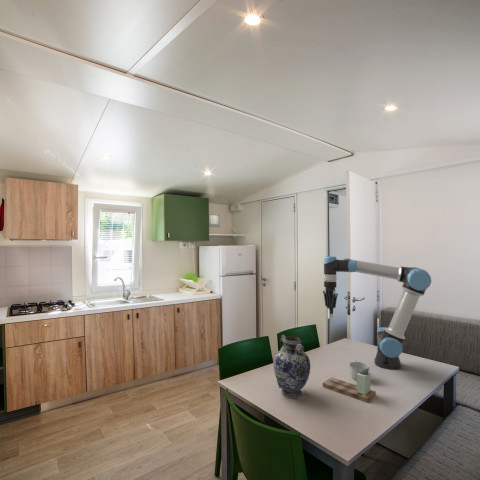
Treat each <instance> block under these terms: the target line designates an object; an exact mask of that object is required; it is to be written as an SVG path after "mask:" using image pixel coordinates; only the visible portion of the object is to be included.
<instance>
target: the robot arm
mask: <svg viewBox="0 0 480 480" xmlns="http://www.w3.org/2000/svg"><path fill="white" fill-rule="evenodd" d="M338 272H339V273H341V272H342V273H360V274H366V275H370V276H376V277H381V278H386V279H392V280H396V281H397V282H399V283H402V289H403V292H402V294H401V295H400V298H399V302H398V304H397V307H396V309H395V310H394V313H393V316H392V318H391V321H390V323H389V324H388V325H389V326H388V327H384V326H383V327H378V328H377V331H376V333H377V336H376V337H377V338H376V340H377V341H376V344H377V346H376V347H377V349H376V350H377V352H376V355H375V358H374V365H375V366H377V367H379V368H383V369H387V370H398V369H399V370H400V369H401V367H402V362H401V359H400V355H401V354H402V353H403V345H404V343H405V340H406V337H405V332H406V330H407V328H408V325H409V323H410V321H411V318H412V315H413V313H414V311H415V309H416V306H417V304H418V302H419V299H420V297H422V296H424V295H425V293H426V290H427V289H428V288H429V287H430V286H431V284H432V277H431V275H430V274H429V272H428V271H427V270H425V269H423V268H419V267H414V266H413V267H411V266H410V267H408V266H403V265H401V266H399V267H397V266H392V265H391V266H390V265H384V264H379V263H375V262H374V263H373V262H367V261H363V260H355V259H350V258H343V259H337V256H333V255H331V256H324V258H323V280H324V281H323V287H324V288H325V289H324V290H322V293H323V298H324V299H323V300H324V306H325V307H326V308H327V319H329V320H333V319H334V309H335V308H336V306H337V300H338V295H339V294H338V293H337V291H336V288H337V280H338V279H337V273H338Z"/></svg>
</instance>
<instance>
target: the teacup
mask: <svg viewBox="0 0 480 480" xmlns="http://www.w3.org/2000/svg"><path fill="white" fill-rule="evenodd" d="M348 367H349V369H348V370H349V376H351V378H352V379H354V380H355V381H357V374H358V373H359V369H360V368H365V369H368V372H370V365H369V364H368V363H367V362H363V361H357V360H352V362H349V364H348Z"/></svg>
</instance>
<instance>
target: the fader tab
mask: <svg viewBox="0 0 480 480" xmlns="http://www.w3.org/2000/svg"><path fill="white" fill-rule="evenodd" d="M371 382H372V381H371V372H370V371H369V372H368V369H365V368H360V369H359V373H358V374H357V380H356V385H357V392H358V393H361V394H364V395H365V394H367V393H368V392H369V391H370V390H372V389H371Z"/></svg>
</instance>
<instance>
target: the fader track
mask: <svg viewBox="0 0 480 480" xmlns="http://www.w3.org/2000/svg"><path fill="white" fill-rule="evenodd" d="M322 387H323V388H324V389H328V390H331V391H334V392H336V393H339V394H342V395H345V396H348V397H350V398H354V399H357V400H359V401H362V402H365V403H369V402H370V401H371V400H373V398H375V397H376V396H377V392H376V390H374V389H373V390H372V389H371V390H370V391H369V392H368V393H367V394H365V395H364V394H361V393H358V392H357V384H354V383H351V382H347V381H344V380H341V379H338V378H336V377H330V378H328V379H326V380H325V381H324V382H322Z"/></svg>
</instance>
